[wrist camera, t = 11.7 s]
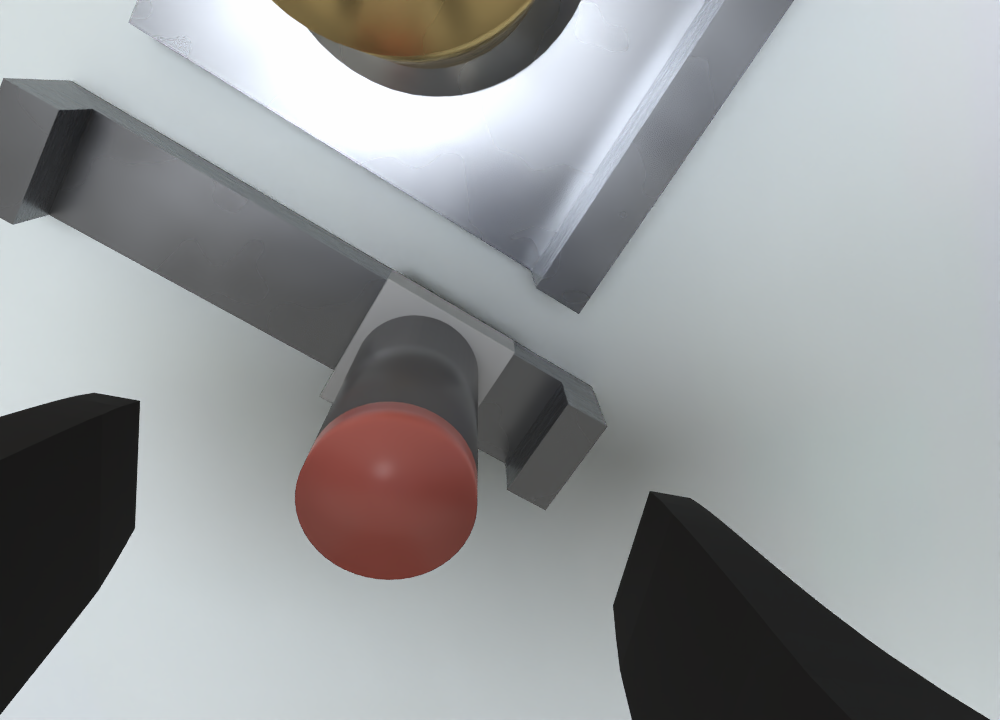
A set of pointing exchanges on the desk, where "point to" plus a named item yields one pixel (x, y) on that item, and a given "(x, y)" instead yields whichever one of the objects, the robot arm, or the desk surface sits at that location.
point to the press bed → (502, 112)
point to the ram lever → (401, 436)
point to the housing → (412, 27)
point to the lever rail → (253, 259)
